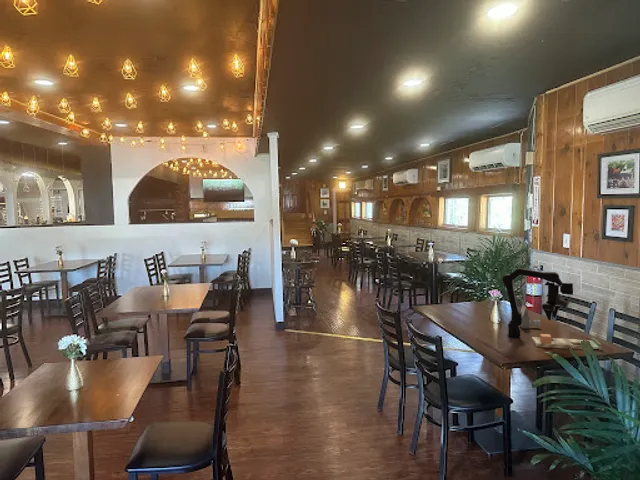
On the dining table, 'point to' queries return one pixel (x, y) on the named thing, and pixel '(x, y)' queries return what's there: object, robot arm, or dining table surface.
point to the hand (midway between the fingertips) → (552, 318)
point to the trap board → (566, 343)
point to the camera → (528, 319)
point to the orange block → (545, 338)
